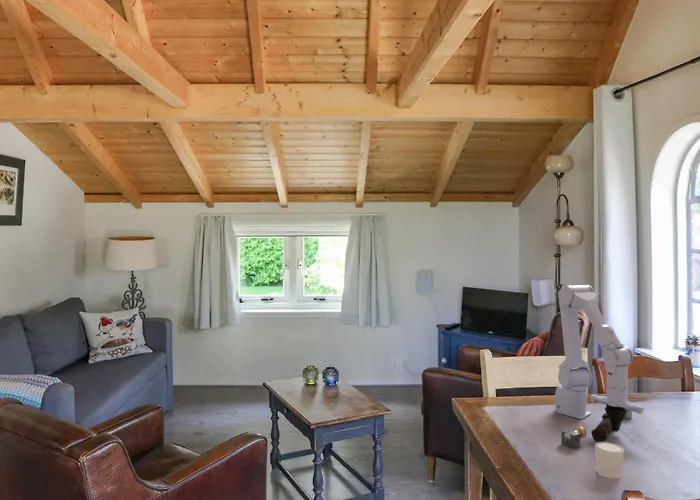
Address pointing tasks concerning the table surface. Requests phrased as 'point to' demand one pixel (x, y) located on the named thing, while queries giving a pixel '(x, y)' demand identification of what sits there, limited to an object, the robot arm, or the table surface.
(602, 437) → the hand tool
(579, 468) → the table surface
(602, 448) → the cream cylinder
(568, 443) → the grey metal fitting
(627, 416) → the grey block with knob
